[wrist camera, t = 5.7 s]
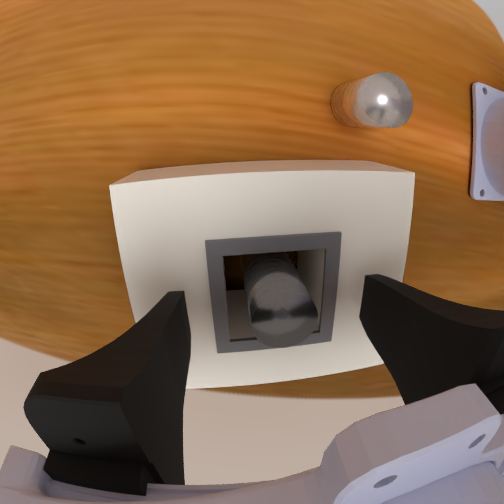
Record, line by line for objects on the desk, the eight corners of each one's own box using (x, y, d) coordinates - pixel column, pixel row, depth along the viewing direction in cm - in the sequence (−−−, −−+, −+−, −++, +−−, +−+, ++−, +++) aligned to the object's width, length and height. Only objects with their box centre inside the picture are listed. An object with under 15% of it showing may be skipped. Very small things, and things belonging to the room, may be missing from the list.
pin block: (368, 160, 16) (417, 173, 11) (354, 319, 19) (385, 365, 15) (138, 170, 15) (107, 186, 10) (165, 337, 18) (154, 391, 14)
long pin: (282, 229, 17) (318, 287, 10) (284, 271, 17) (316, 342, 11) (236, 235, 16) (248, 297, 10) (241, 276, 17) (254, 352, 11)
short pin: (370, 85, 14) (411, 77, 10) (372, 128, 15) (413, 130, 11) (329, 81, 14) (362, 68, 10) (331, 125, 15) (364, 125, 11)
